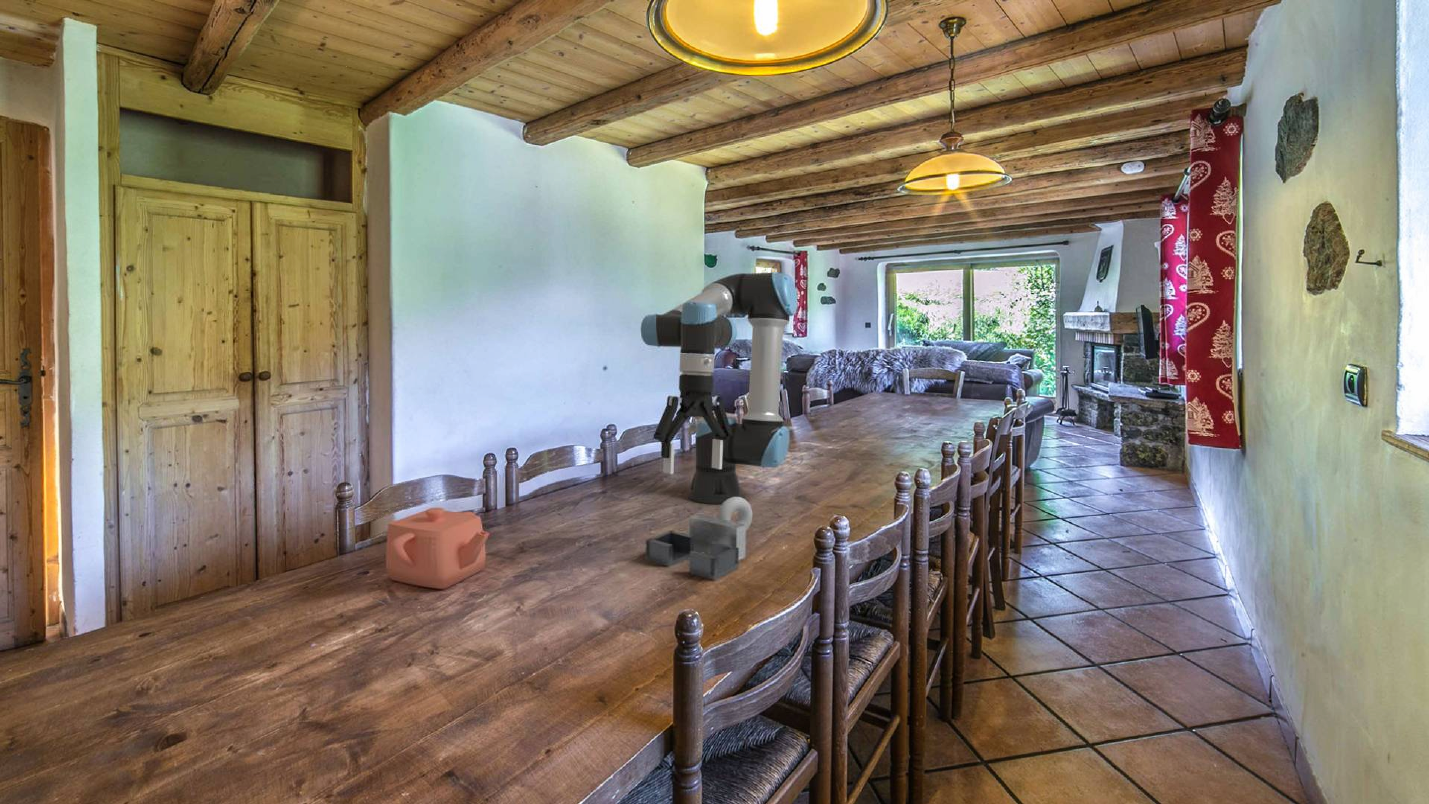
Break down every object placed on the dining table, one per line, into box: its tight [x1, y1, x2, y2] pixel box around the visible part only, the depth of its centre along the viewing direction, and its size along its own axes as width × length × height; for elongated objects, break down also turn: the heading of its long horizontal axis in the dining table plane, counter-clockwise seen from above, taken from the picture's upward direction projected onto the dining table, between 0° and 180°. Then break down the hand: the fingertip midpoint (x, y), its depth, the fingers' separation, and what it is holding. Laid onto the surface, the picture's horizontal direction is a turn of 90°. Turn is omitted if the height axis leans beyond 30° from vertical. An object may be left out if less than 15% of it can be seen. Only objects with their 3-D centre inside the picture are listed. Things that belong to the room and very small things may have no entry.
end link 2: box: [689, 542, 740, 582], centre depth 141 cm, size 8×6×4 cm
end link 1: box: [645, 530, 695, 568], centre depth 148 cm, size 8×6×4 cm
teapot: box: [385, 507, 490, 590], centre depth 135 cm, size 20×22×14 cm
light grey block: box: [688, 513, 747, 561], centre depth 152 cm, size 4×13×8 cm, turn 53°
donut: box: [715, 496, 753, 532], centre depth 162 cm, size 10×3×10 cm, turn 125°
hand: (693, 470), depth 149 cm, fingers open, 13 cm apart
